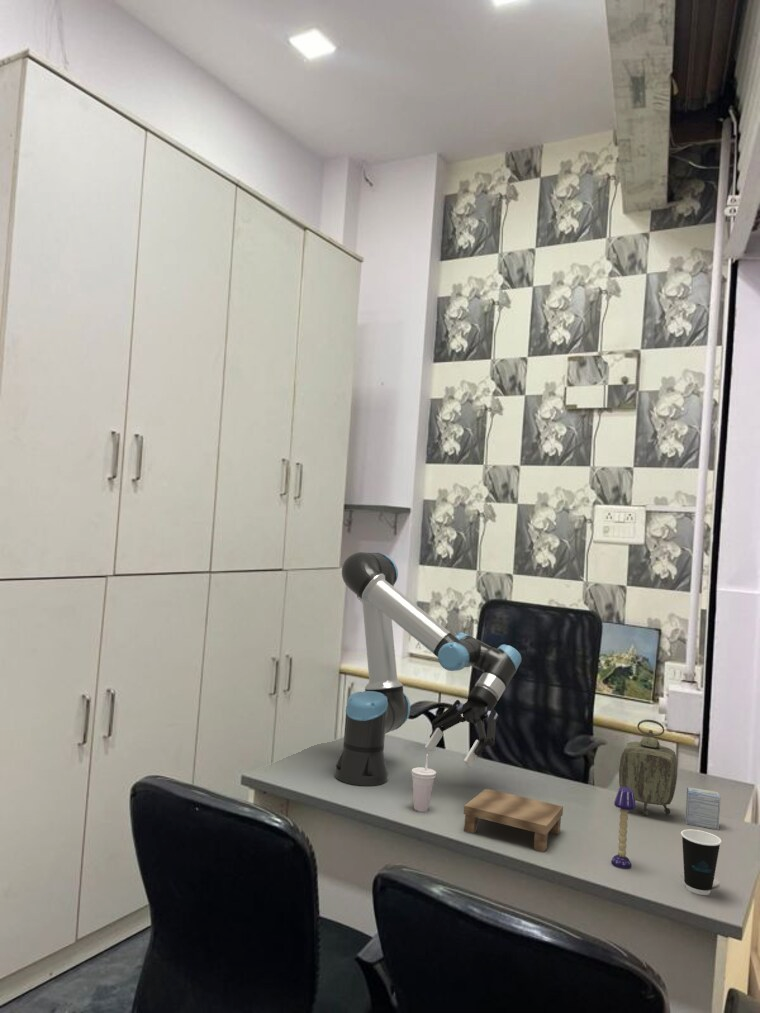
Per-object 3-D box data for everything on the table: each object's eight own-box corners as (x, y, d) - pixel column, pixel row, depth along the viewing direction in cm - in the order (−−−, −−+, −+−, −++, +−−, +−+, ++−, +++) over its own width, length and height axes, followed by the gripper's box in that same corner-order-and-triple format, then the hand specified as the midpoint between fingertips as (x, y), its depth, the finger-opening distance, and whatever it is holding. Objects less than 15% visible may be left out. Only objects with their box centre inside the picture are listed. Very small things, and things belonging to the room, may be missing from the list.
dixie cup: (697, 900, 151) (700, 845, 152) (669, 882, 159) (672, 830, 159) (727, 896, 154) (730, 842, 155) (698, 879, 161) (701, 828, 162)
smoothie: (431, 815, 187) (435, 759, 188) (406, 811, 188) (410, 755, 189) (434, 806, 193) (438, 752, 194) (410, 803, 195) (414, 749, 195)
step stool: (462, 830, 178) (464, 805, 179) (484, 812, 192) (485, 788, 193) (544, 852, 169) (546, 826, 169) (561, 831, 183) (563, 806, 184)
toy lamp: (607, 859, 168) (612, 784, 169) (627, 860, 169) (631, 785, 170) (615, 868, 164) (620, 791, 165) (636, 869, 164) (640, 792, 165)
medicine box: (717, 825, 197) (719, 791, 198) (718, 830, 193) (720, 796, 193) (685, 819, 200) (687, 786, 200) (686, 824, 195) (688, 791, 196)
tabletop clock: (675, 814, 203) (680, 721, 204) (673, 824, 195) (678, 728, 196) (619, 802, 209) (625, 712, 210) (615, 812, 201) (621, 718, 202)
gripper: (528, 712, 199) (490, 778, 188) (457, 693, 217) (418, 753, 206) (518, 694, 195) (478, 760, 184) (446, 676, 213) (406, 736, 202)
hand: (446, 757), depth 195 cm, fingers open, 13 cm apart
